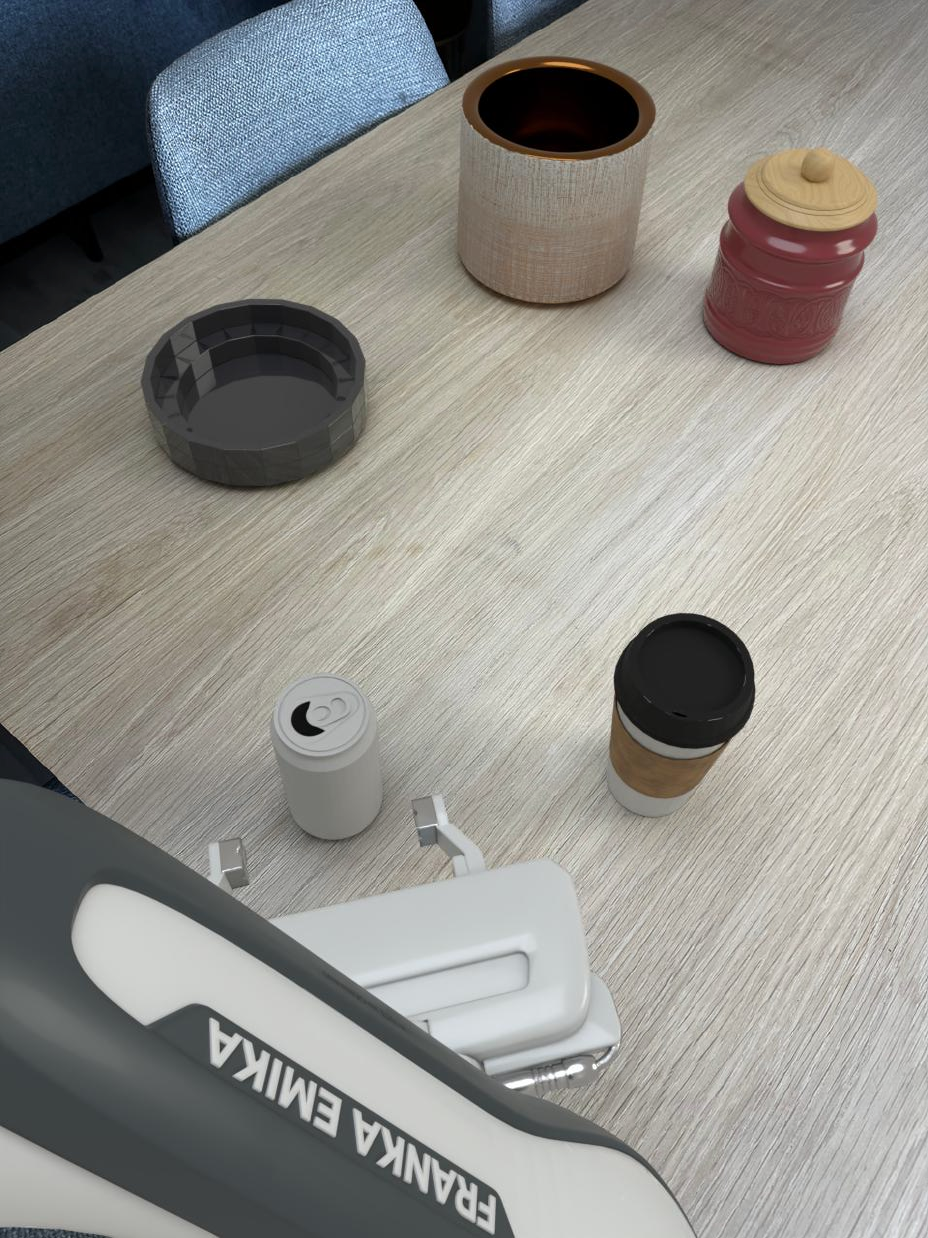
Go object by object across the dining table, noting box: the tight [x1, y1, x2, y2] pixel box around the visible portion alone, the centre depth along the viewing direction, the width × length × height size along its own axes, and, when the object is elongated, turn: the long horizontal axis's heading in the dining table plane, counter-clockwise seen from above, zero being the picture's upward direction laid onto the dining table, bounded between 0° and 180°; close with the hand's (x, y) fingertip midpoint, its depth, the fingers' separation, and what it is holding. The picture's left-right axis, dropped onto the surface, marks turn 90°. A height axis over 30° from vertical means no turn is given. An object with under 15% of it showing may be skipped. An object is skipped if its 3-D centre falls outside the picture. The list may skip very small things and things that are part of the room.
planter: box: [456, 55, 657, 305], centre depth 99 cm, size 18×18×16 cm
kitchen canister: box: [702, 146, 879, 365], centre depth 93 cm, size 13×13×18 cm
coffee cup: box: [606, 612, 757, 818], centre depth 66 cm, size 8×8×15 cm
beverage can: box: [269, 672, 384, 841], centre depth 66 cm, size 6×6×12 cm
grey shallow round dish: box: [140, 298, 369, 487], centre depth 89 cm, size 19×19×5 cm
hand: (328, 823), depth 48 cm, fingers open, 8 cm apart
